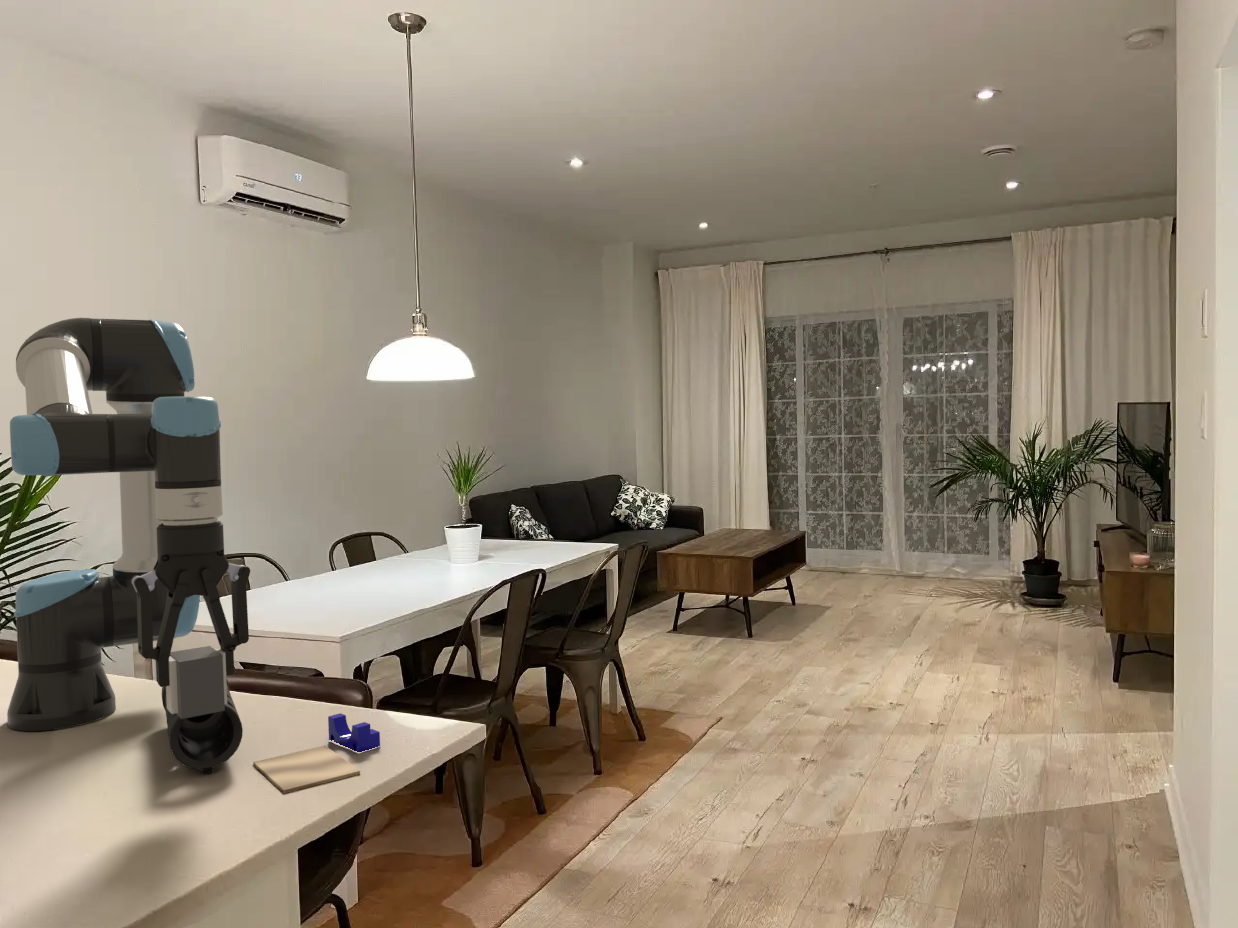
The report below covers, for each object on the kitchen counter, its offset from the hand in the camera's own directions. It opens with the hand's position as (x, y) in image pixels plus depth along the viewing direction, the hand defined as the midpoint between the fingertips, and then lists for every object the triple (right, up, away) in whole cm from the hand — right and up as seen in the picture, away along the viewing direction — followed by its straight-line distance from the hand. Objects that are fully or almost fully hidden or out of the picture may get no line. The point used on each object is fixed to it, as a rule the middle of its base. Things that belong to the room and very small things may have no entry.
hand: (197, 705), depth 116 cm
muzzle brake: (-8, -11, +20) cm, 24 cm away
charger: (0, 0, 0) cm, 0 cm away
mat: (+11, -11, +9) cm, 18 cm away
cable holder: (+14, -11, +19) cm, 26 cm away
